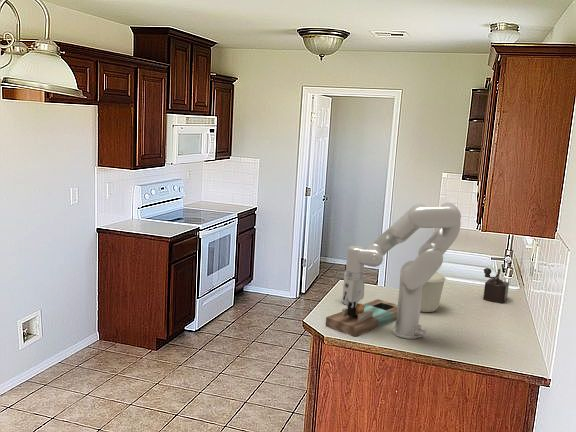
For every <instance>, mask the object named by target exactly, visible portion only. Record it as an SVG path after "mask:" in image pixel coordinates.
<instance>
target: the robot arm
mask: <svg viewBox="0 0 576 432" xmlns="http://www.w3.org/2000/svg"><path fill="white" fill-rule="evenodd" d="M461 218H462V215H461V211H460V210H459V208H458V207H457V206H456V204H454V203H452V202H444V203H442V204H441V205H439V206H432V207H431V206H428V207H427V206H426V205H425V204H423V203H416V204H414V205H412V206H411V207H410V208H409V209H408V210H406V212H404V214H403V215H401V217H399V218H398V219H397V220H396V221H395V222H394V223H393V224H392V225H391V226H390V227H388V228H387V229H386V230H385V231H383V232H382V233H381V234H380V235H379V236H378V237H377V238H376V239H375V240H374V241H373V242H372V243H371V244H370V245H369V246H368V247H367V248H366V249H365V247H363V246H361V245H350V246H348V247H347V251H346V253H347V254H346V264H345V265H346V276H345V277H346V278H345V282H344V281H343V285H344V287H343V289H342V298H343V299H342V300H344V304H343V305H346V306H347V307H348V311H347V315H349V316H352V317H353V316H355V314H356V307H357V303H358V302H360V301H362V300H363V299H364V297H365V278H364V271H365V266H368V267H372V268H376V267H379V266H381V265H382V263H383V261H384V256H385V255H386V254H387V253H389V252H390V250H391V249H393V248H394V247H395V246H397V245H399V244H402V243H405V242H406V241H407V240H409V239H410V238H411V237H412V236H413V235H414V234H415V233H416V232H417V231H418V230H419V229H436V230H435V231H434V232H433V233H432V234H431V236H430V237H429V238H428V239H427V240H426V241H425V242H424V243H423V244H422V245H421V247H419V249H418V251H417V257H415V259H414V260H409V261H406V262H405V263H404V264H402V266H401V269H400V273H399V285H398V287H399V289H398V299H397V305H398V308H397V319H396V320H395V321H396V322H395V326H393V327H392V328H391V333H392V334H393V335H394V336H395V337H399V338H401V339H402V338H403V339H408V340H410V339H411V340H412V339H413V340H414V339H415V340H417V339H419V338H421V337H425V336H426V335H427V330H425V329H423V328H422V325H421V324H420V319H421V318H420V317H421V311H420V308H421V299H422V287H423V286H424V285H425V283H426V282H427V281H428V280H429V279H430V278H431V277H432V276H433V275H434V274H435V273H436V272H438V270H439V269H440V268H441V266H442V264H443V262H444V254H445V253H446V252H447V251H448V249H450V247H451V246H452V245H453V243H454V242H455V241H456V240H457V238H458V235H459V233H460V230H461V226H462V225H461V223H462V222H461ZM350 302H351V303H350ZM347 307H346V308H347Z"/></svg>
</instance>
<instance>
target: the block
mask: <svg viewBox="0 0 576 432" xmlns="http://www.w3.org/2000/svg"><path fill="white" fill-rule="evenodd" d="M350 303H351V302H350ZM363 304H364V303H357V307H356V314H355V315H358V314H360V313H363V312H364V309H365V305H363Z"/></svg>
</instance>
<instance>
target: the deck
mask: <svg viewBox="0 0 576 432" xmlns="http://www.w3.org/2000/svg"><path fill="white" fill-rule="evenodd" d="M362 304H363V305H365V309H364V312H363V313H360V314H358V315H355V316H353V317H352V316H349V315H347V311H348V307H345V308H342V311H340V312H337V313H334V314H331V315H328V316H326V317H325V327H327V328H330V329H333V330H335V331H338V332H341V333H344V334H347V335H349V336H351V337H355V338H356V337H359V336H361V335H363V334H366V333H368V332H371V331H374V330H376V329H379V328H381V327H383V326H385V325H388V324H389V323H390V324H391V323H393V322H395V321H396V319H397V308H398V304H396V303H392V302H388V301H385V300H382V299H378V298H377V299H375V300H371V301H368V302H366V303H362Z"/></svg>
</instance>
